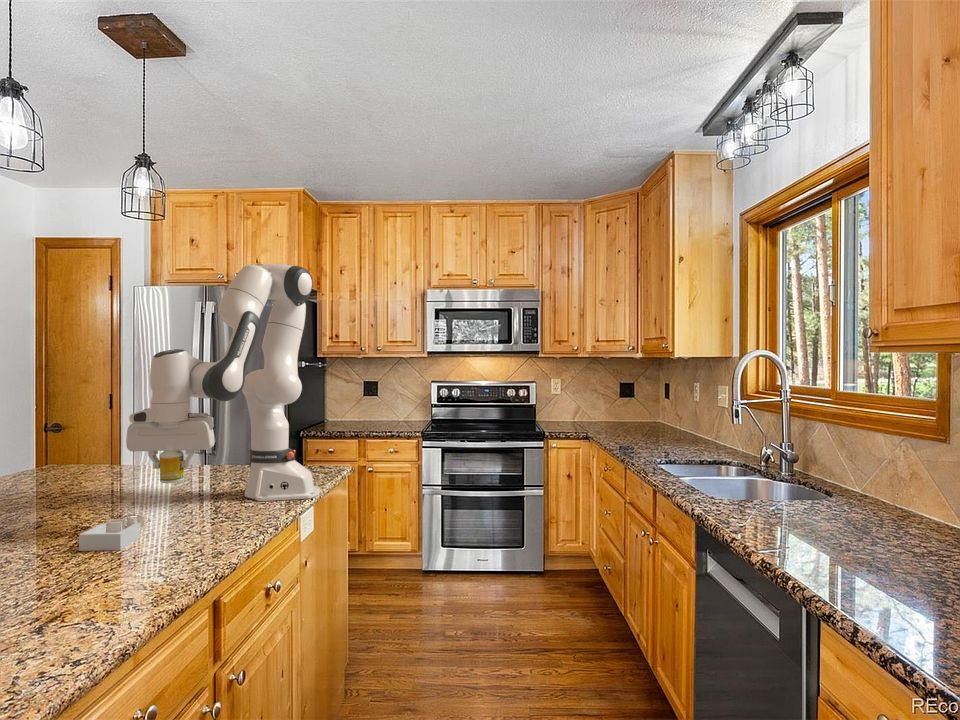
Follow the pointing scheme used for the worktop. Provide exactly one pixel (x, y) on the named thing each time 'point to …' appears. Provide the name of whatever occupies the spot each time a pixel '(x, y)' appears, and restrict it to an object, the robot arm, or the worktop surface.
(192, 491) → the worktop surface
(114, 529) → the grey cube
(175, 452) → the supplement bottle
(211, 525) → the worktop surface
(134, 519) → the clip
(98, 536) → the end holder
